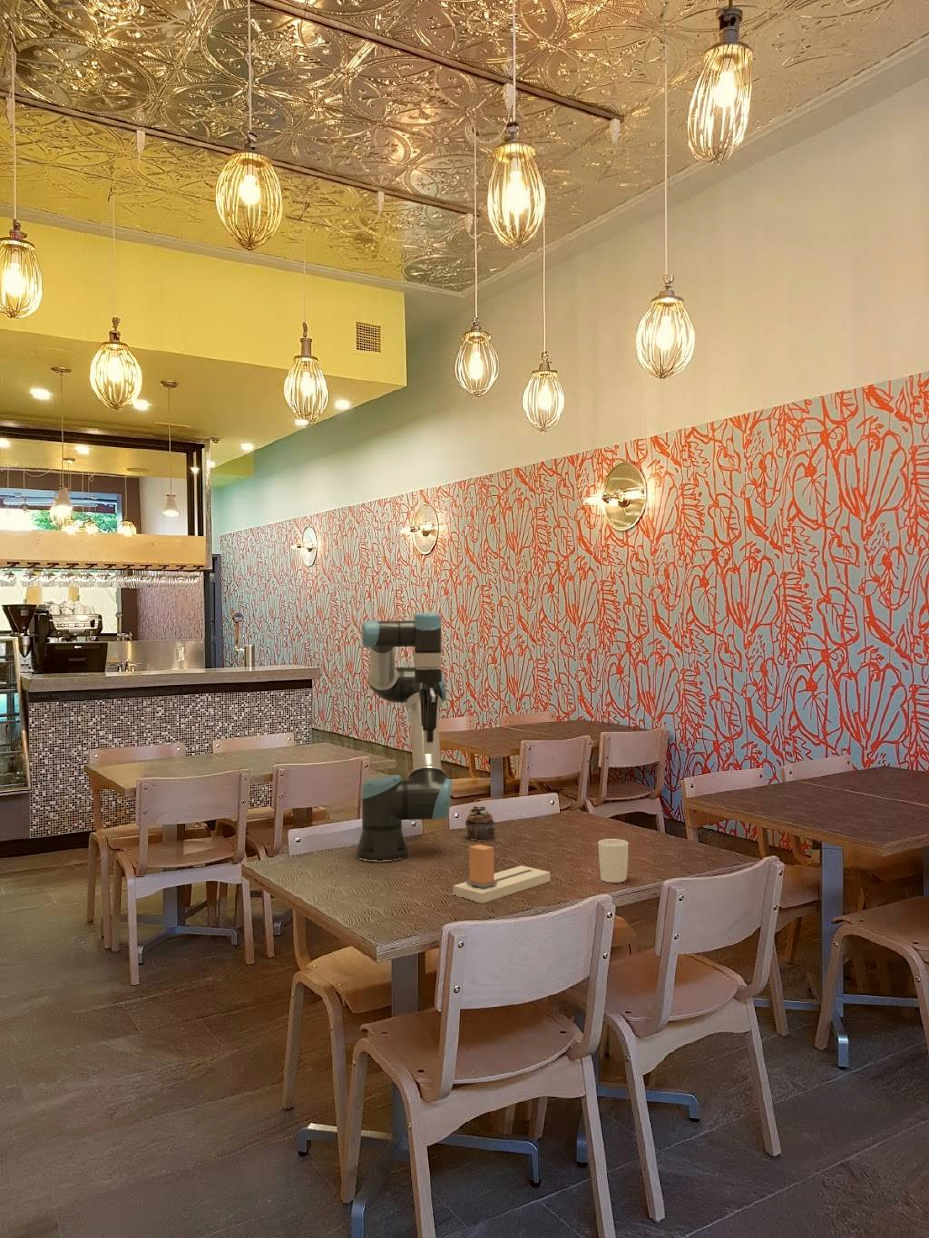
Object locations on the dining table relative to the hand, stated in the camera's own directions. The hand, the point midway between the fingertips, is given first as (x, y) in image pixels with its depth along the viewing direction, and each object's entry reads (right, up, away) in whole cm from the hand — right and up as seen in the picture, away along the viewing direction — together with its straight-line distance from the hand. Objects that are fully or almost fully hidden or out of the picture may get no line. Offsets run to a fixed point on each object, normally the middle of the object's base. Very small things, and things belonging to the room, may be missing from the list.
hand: (429, 753), depth 249 cm
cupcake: (+15, -33, +38) cm, 52 cm away
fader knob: (+14, -29, -23) cm, 40 cm away
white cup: (+49, -32, -12) cm, 60 cm away
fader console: (+20, -32, -18) cm, 42 cm away
